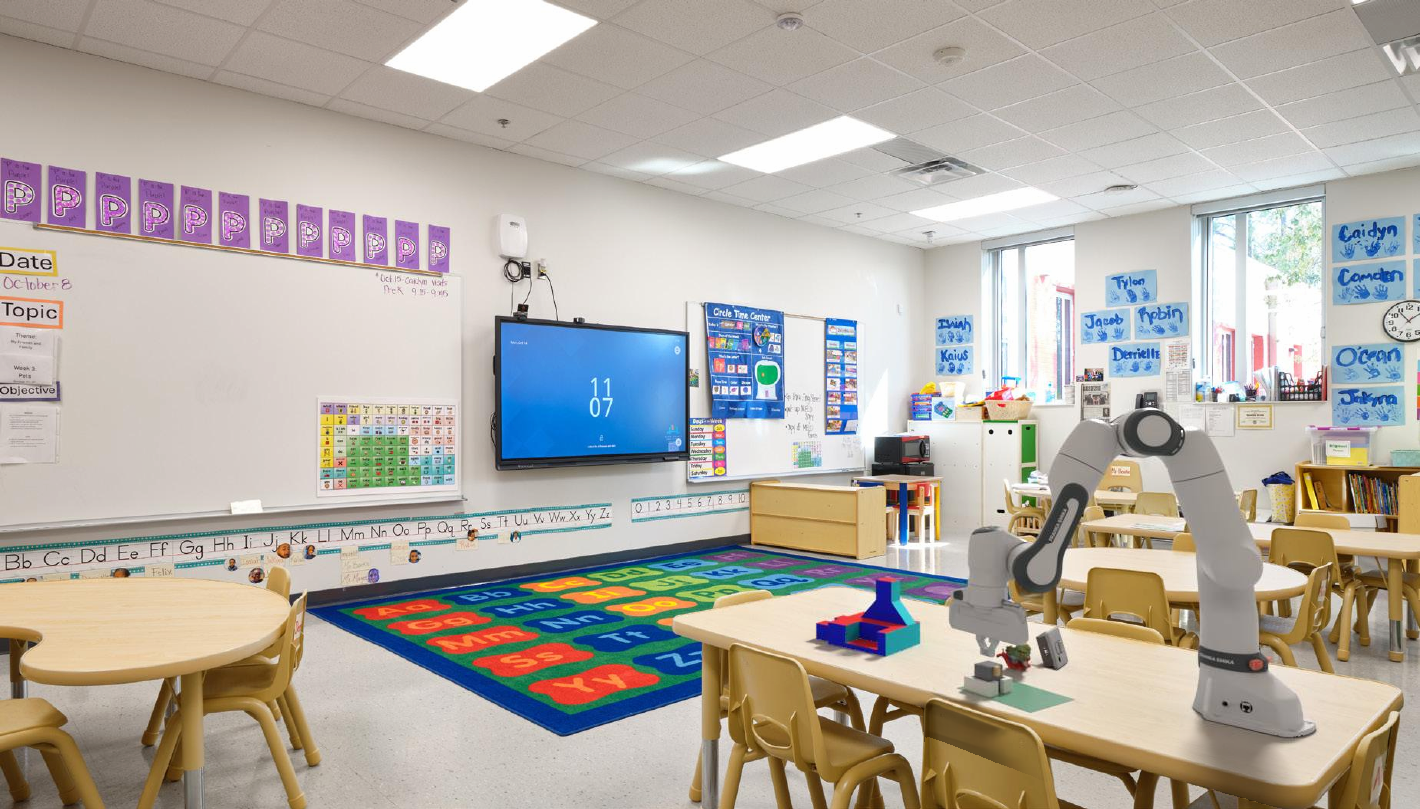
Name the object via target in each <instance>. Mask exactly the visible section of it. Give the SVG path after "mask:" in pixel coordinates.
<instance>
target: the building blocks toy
mask: <svg viewBox="0 0 1420 809" xmlns="http://www.w3.org/2000/svg"><path fill="white" fill-rule="evenodd" d="M900 588H901V580H900V579H897V578H889V577H881V578H878V579H875V600H874V601H873V602H872V603H871V605H870V606H869V607H868V608H867V609H866V611H861V612H857V613H854V614H851V615H844V614H842V615H838V616H836V617H833V618H834V619H833V620H831V621H830V620H822V621H818V622H816V623H815V639H816V640H819V641H825V642H827V645H832V646H836V647H839V648H845V649H849V650H854V651H856V652H857V651H858V652H862V653H868V654H872V655H877V656H881V657H889V656H892V655H894V654H896V653H900V652H902V651H905V650H907V649H911V648H912V647H915V646H917V645H920V644H921V621H919V620H915V619H914V618H913V616H912V615H911V613H910V612H909V610H908V609H907V608H906V607H905V604H904V603H903V602H902V600H901V589H900Z"/></svg>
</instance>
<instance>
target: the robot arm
mask: <svg viewBox="0 0 1420 809" xmlns="http://www.w3.org/2000/svg"><path fill="white" fill-rule="evenodd" d="M1118 456H1122V457H1126V458H1140V459H1143V458H1144V459H1145V458H1151V457H1157V458H1158V459H1159V460H1161V462H1162V463H1163V464H1164V466H1165V468H1166V470H1167V472H1168V476H1169V480H1170V481H1171V485H1172V488H1173V490H1174V494H1175V496H1176V499H1177V502H1178V505H1179V508H1180V510H1181V514H1182V516H1183V518H1184V521H1185V523H1186V525H1187V528H1188V530H1189V532H1190V534H1191V538H1192V540H1193V543H1194V545H1195V548H1196V550H1195V562H1196V566H1195V567H1196V579H1197V591H1198V593H1197V594H1198V603H1199V634H1200V635H1199V638H1200V640H1199V643H1198V645H1197V665H1198V668H1199V673H1198V680H1197V681H1198V682H1197V688H1196V692H1195V696H1194V699H1193V700H1194V701H1193V703H1192V708H1193V709H1194V710H1195V711H1197V713H1200V714H1201V715H1202V717H1203V719H1205V720H1207V721H1211V722H1216V723H1220V724H1224V725H1229V726H1233V727H1238V728H1242V729H1245V730H1246V729H1247V730H1251V731H1255V732H1260V733H1264V734H1269V735H1273V736H1277V735H1278V736H1277V737H1282V738H1297V737H1296V736H1298V737H1302V736H1301V735H1303V736H1306V735H1310V734H1311V733H1314V731H1315V730H1316V729H1317V725H1316V721H1314V719H1310V718H1308V717H1305V716H1304V713H1303V709H1302V708H1303V707H1302V703H1301V700H1300V697H1299V696H1298V694H1297V693H1296V692H1295V691H1293V690H1292V689H1291V688H1290V687H1288V686H1287V685H1286V684H1285V683H1284V682H1283V681H1282V680H1280V679H1279V678H1278V677H1277V676H1275V674H1273V673H1272V672H1271V671H1270V670H1269V663H1272V662H1273V661H1272V658H1273V657H1272V656H1267V657H1266V656H1265V655H1264V654H1263V653H1262V652H1261V650H1260V649H1259V648H1260V644H1259V642H1260V641H1259V639H1260V637H1259V636H1260V633H1259V630H1260V629H1259V612H1258V605H1257V599H1256V598H1257V597H1256V592H1255V591H1256V590H1255V586H1256V584H1257V583H1258V582H1260V580H1261V578H1262V576H1263V573H1264V562H1263V559H1262V555H1261V553H1260V551H1259V548H1258V546H1257V544H1256V541H1255V539H1254V536H1253V534H1252V531H1251V529H1250V527H1249V525H1248V522H1247V520H1246V518H1245V516H1244V513H1243V512H1242V509H1241V508H1240V507H1241V506H1240V505H1239V502H1238V501H1237V497H1236V495H1235V492H1234V489H1233V486H1232V484H1231V481H1230V478H1229V475H1228V473H1227V470H1226V467H1225V464H1224V461H1223V460H1222V457H1221V455H1220V453H1219V451H1218V449H1217V447H1216V446H1215V444H1214V442H1213V440H1212V439H1211V437H1210V436H1209V434H1208V433H1207V432H1206V431H1205V430H1204V429H1202V428H1199V427H1195V426H1185V427H1183V426H1182V425H1180V423H1178V422H1177V421H1176V420H1174V418H1173V417H1172V416H1171V415H1169V414H1168V413H1167V412H1166V411H1163V410H1161V409H1159V408H1154V407H1144V408H1136V409H1132V410H1130V411H1128V412H1126V413H1123V414H1121V415H1119V416H1118V417H1115V419H1113V420H1112V421H1110V422H1106V421H1104V420H1102V419H1098V418H1086V419H1083V420H1082V421H1080V422H1079V423H1078V424H1077V425H1076V426H1075V427H1074V428H1073V430H1072V431H1071V432H1070V434H1068V436H1067V438H1066V439H1065V441H1064V442H1063V444H1062V445H1061V446H1060V449H1059V450H1058V452H1057V454H1056V456H1055V457H1054V459H1053V461H1052V463H1051V466H1050V469H1049V473H1048V475H1047V484H1048V488H1049V491H1050V494H1051V506H1050V510H1049V513H1048V515H1047V516H1046V519H1045V520H1044V522H1043V525H1042V527H1041V529H1040V531H1039V533H1038V535H1037V537H1036V539H1035V541H1034V542H1032V541H1030V540H1025V539H1024V538H1020V536H1019V537H1018V536H1017V535H1015V534H1013V533H1011V532H1010V531H1008V530H1006V529H1005V528H1004V527H1002V526H998V525H997V526H996V525H991V526H983V527H979V528H977V529H976V528H975V530H973V532H971V534H970V536H969V541H968V550H967V551H968V553H967V565H968V566H967V567H968V569H969V570H968V571H969V576H968V578H967V586H963V587H961V588H956V589H952V590H950V591H949V592H950V593H949V595H950V596H949V597H950V599H952V600H950V602H949V605H948V606H949V608H948V623H949V625H950V627H951V629H953V630H958V631H962V632H964V633H965V632H966V633H969V634H972V635H975V640H976V643H977V645H978V647H979V654H980V655H981V656H985V657H987V658H994V657H995V656H996V649H997V648H998V646H999V644H1000V642H1002V643H1006V644H1007V643H1008V644H1010V645H1015V646H1016V645H1023V644H1028V641H1029V639H1030V638H1029V627H1028V626H1029V625H1028V620H1027V619H1028V618H1027V609H1026V608H1025V607H1024V606H1023V605H1022V604H1021V603H1019V602H1014V601H1011V600H1009V599H1008V597H1009V596H1008V585H1009V584H1008V582H1010V581H1015V582H1016V583H1017V585H1018V586H1019V587H1020V588H1021V589H1022V590H1024V591H1026V592H1027V593H1030V594H1035V595H1040V594H1046V593H1049V592H1050V591H1053V590H1054V589H1055V588H1056V587H1057V586H1058V585H1059V584H1060V581H1061V579H1062V575H1063V569H1064V568H1063V567H1064V566H1063V565H1064V557H1065V554H1066V552H1067V549H1068V547H1069V544H1070V542H1071V540H1072V538H1073V536H1074V534H1075V532H1076V529H1077V528H1078V525H1079V524H1080V521H1081V519H1082V517H1083V515H1084V512H1085V510H1086V509H1087V507H1088V505H1089V503H1090V501H1091V499H1092V497H1093V496H1094V494H1095V493H1096V491H1097V489H1098V487H1099V486H1100V484H1101V483H1102V481H1103V479H1104V477H1105V475H1106V474H1107V471H1108V469H1109V467H1110V465H1111V463H1113V462H1114V460H1115V459H1116V458H1117V457H1118ZM987 638H988V643H990V644H989V646H988V645H987V643H986V639H987ZM1294 736H1295V737H1294Z"/></svg>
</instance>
